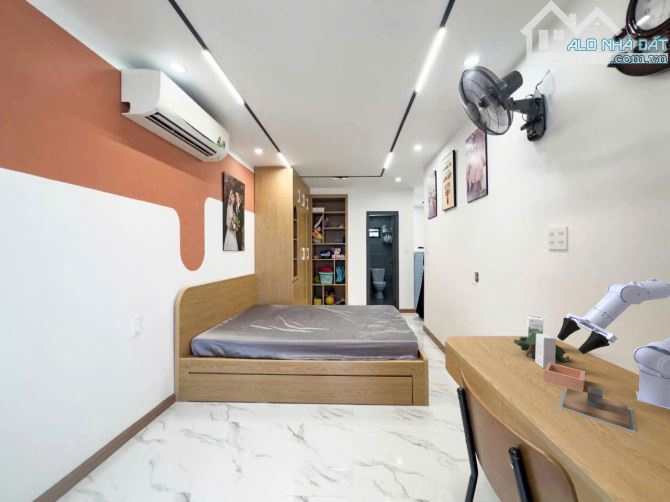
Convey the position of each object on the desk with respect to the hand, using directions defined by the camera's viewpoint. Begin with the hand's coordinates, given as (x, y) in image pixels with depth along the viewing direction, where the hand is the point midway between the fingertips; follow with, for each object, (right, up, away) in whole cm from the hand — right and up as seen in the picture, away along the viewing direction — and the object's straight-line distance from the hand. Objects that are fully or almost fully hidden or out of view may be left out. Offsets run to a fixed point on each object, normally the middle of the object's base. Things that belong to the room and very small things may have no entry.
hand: (569, 345), depth 87 cm
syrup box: (+19, -16, +41) cm, 48 cm away
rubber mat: (-1, -15, -10) cm, 18 cm away
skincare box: (+8, -15, +20) cm, 26 cm away
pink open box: (+4, -15, +7) cm, 17 cm away
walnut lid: (-1, -15, -10) cm, 18 cm away
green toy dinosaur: (+12, -16, +28) cm, 35 cm away
